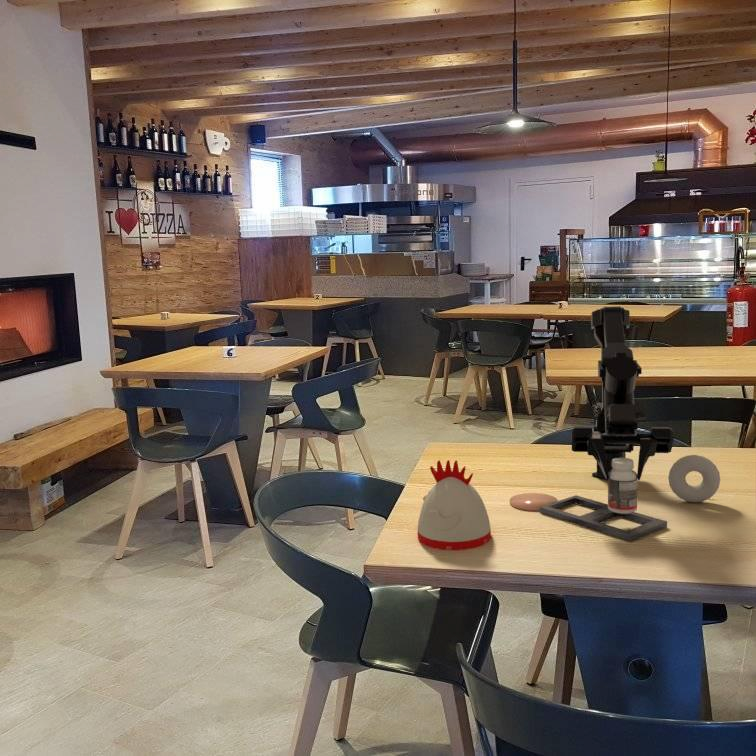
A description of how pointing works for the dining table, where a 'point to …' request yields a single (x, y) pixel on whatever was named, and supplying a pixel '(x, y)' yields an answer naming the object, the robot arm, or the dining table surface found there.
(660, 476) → the dining table surface
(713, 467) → the donut
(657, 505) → the dining table surface
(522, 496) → the coaster
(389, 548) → the dining table surface
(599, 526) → the dark grey flat frame
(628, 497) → the pill bottle
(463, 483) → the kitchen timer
